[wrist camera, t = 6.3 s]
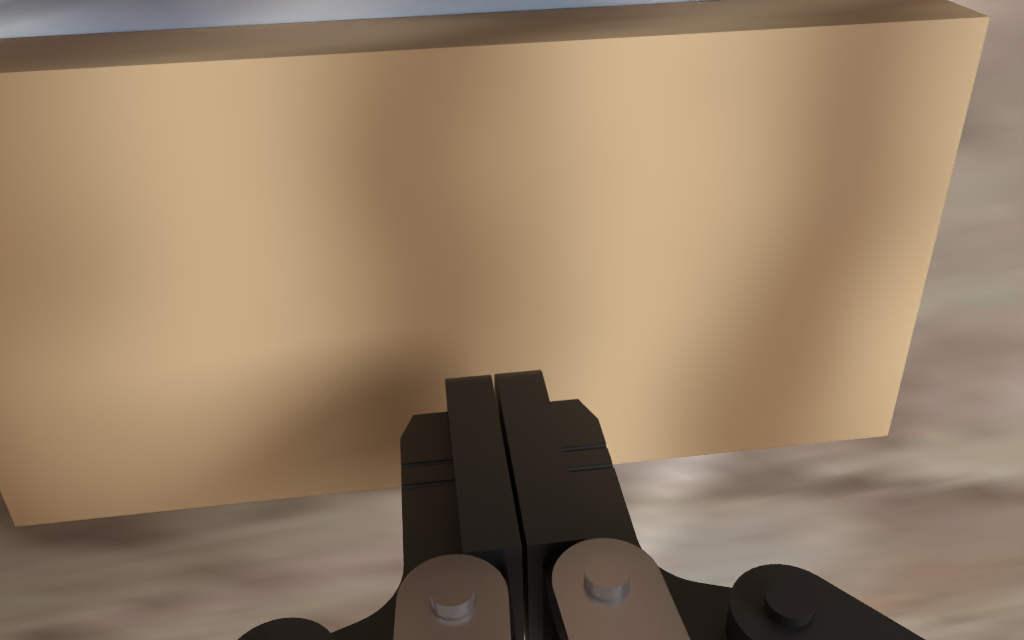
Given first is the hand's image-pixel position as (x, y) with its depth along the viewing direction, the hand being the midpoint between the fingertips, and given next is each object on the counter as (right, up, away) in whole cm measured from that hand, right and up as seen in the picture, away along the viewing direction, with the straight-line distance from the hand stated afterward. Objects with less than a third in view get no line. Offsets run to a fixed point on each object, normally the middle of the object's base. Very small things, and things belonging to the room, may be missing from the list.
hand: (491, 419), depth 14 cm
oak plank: (-1, +3, +2) cm, 4 cm away
